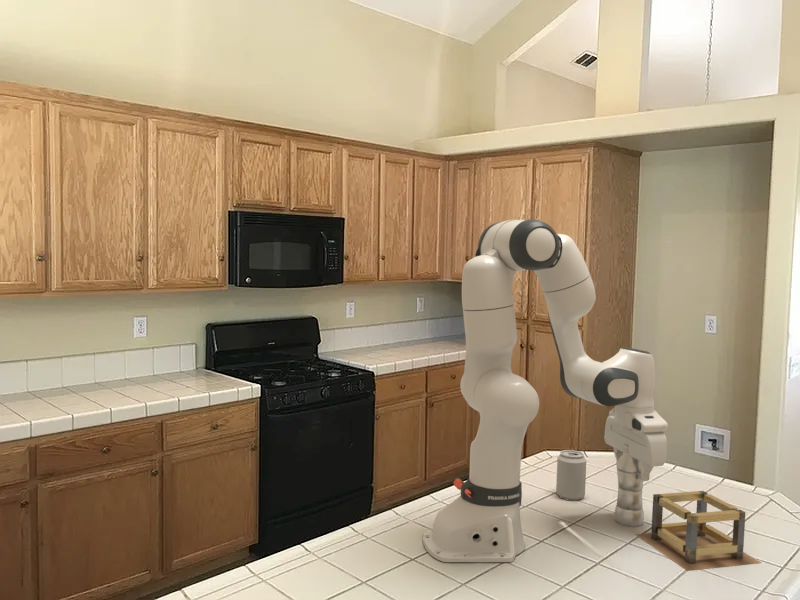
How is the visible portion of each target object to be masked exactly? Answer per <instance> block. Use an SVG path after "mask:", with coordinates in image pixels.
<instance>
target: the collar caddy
mask: <svg viewBox="0 0 800 600" xmlns="http://www.w3.org/2000/svg"><path fill="white" fill-rule="evenodd" d="M652 497H653V498H652V515H651V532H650V533H651V538H652V539H653V540H655V541H658V540H661V538H662V539H664V540H665V541H667V542H668V543H670V544H671V545H673V546H674V547H676V548H677V549H679V550H680V551H682V552H685V561H686V562H687V563H689V564H695V563H696V556H704V555H714V554H724V553H732V557H734V558H736V559H743V552H744V544H745V542H744V541H745V529H746V528H745V527H746V511H744V510H743V509H738V507H736V506H734V505H733V504H730V503H728V502H726V501H725V500H722V499H720V498H718V497H716V496H714V495H712V494H711V493H708V492H706V491H704V490H695V491H694V490H693V491H684V492H681V491H680V492H668V493H655V494H653V495H652ZM692 501H696V512H694V513H693V512H692V511H691V510H688V509H687V508H686V507H683V506H681V505H679V504H678V503H681V502H692ZM708 505H710V506H712V507H714V508H716V509H718V511H707V510H708ZM663 508H664V509H666V510H667V511H669V512H671V513H672V514H675V516H678V517H679V518H681V519H683V520H686V521H683V522H681V521H680V522H673V523H671V522H670V523H663V513H664V512H663V510H664V509H663ZM719 510H720V511H719ZM727 521H728V522H729V521H733V525H732V526H733V527H732V536H729V535H728V534H726V533H724V532H722V531H720V530H718V529H717V528H715V527H714V526H712V525H710V524H707V523H716V522H718V523H719V522H727ZM675 532H686V542H684V541H683V540H681V539H680V538H678V537H677V536H675V535H673V534H672V533H675ZM705 534H707V535H709V536H711V537H712V538H714V539H716V540H717V541H719V542H721V543H720V544H709V545H699V546H697V535H698V536H699V537H702V536H705Z"/></svg>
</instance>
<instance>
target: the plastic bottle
mask: <svg viewBox="0 0 800 600" xmlns="http://www.w3.org/2000/svg"><path fill="white" fill-rule="evenodd" d="M623 451H624V453H623V455H622V456H621V457H620V458H619V460H618V461H617V465H616V473H617V487H618V488H617V499H616V505H615V509H614V520H615V522H616V523H618V524H620V525H622V526H626V527H636V528H637V527H640V526H642V525H643V524H644V521H645V514H644V513H645V512H644V507H643V506H644V505H643V488H644V481H643V480H641V479H640V478H639V472H642V469H643V466H642V462H641V461H639V460H637V459H635V458H633V457H631V456H629V454H628V453H629V445H627V444H625V443H624V448H623Z"/></svg>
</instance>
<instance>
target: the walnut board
mask: <svg viewBox="0 0 800 600" xmlns="http://www.w3.org/2000/svg"><path fill="white" fill-rule="evenodd" d="M672 534H673V535H675V536H677V537H678V538H680V539H681V540H683V541H684V542H686V532H675V533H672ZM634 535H635V536H636V537H638V538H639V539H641V540H642V541H644V542H645V543H647V544H648V545H649V546H651V547H652V548H653V549H654V550H657V551H658V552H659V553H660V554H662V555H664V556H665V557H666V558H667V559H670V560H671V561H672V562H674V563H675V564H676V565H677V566H679V567H680V568H682V569H684V570H685V571H686V572H689V571H698V570H701V571H702V570H708V569H718V568H720V569H721V568H728V567H737V566H738V567H739V566H745V565H757V564H758V565H759V564H762V562H761V561H759V560H758V559H756V558H754V557H752V556H751V555H750V554H748V553H746V552H744V551H743V559H736V558H734V557H732V553H724V554H714V555H704V556H696V563H695V564H689V563H687V562H686V561H685V552H682V551H680V550H679V549H677V548H676V547H674V546H673V545H671V544H670V543H668V542H667V541H665V540H664V539H662V538H661V540H658V541H655V540H653V539H652V538H651V532H647V533H635V534H634ZM720 543H721V542H719V541H717V540H716V539H714V538H712V537H711V536H709V535H707V534H705V536H702V537H699V536H698V535H697V546H699V545H709V544H720Z"/></svg>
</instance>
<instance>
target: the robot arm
mask: <svg viewBox="0 0 800 600" xmlns="http://www.w3.org/2000/svg"><path fill="white" fill-rule="evenodd" d="M518 271H519V272H523V271H524V272H525V271H533V272H534V274H535V275H536V277H537V278H538V281H539V284H540V285H539V286H540V288H541V290H542V291H541V292H542V293H543V297H544V299H545V302H546V303H545V304H546V306H547V312H548V313H547V316H548V323H549V327H550V330H551V333H552V334H551V335H552V338H553V342H554V345H555V348H556V353H557V355H558V359H559V377H560V378H559V381H560V384H561V387H562V389H563V390H564V392H565V393H566V394H567V395H569V396H570V397H572V398H576V399H580V400H584V401H587V402H590V403H593V404H597V405H598V406H599V405H600V406H603V407H613V408H611V409H610V410H609V412H608V416H607V418H606V420H605V421H606V422H605V427H604V436H603V437H604V442H605V444H607V446H608V445H609V446H610V447H611V448H612V447H613V454H614V457H615V460H616V462H615V464H616V466H617V461H618V460H619V458H620V457H621V456H622V455H623V454H624V451H623V448H624V443H625V444H627V445H629V453H628V454H629V456H631V457H633V458H635V459H637V460H639V461H641V462H642V466H643V469H642V472H639V478H640V479H641V480H643V482H648V481H650V478H651V477H650V475H651V472H652V471H653V468H654V467H662V466H664V465H665V463H666V461H667V456H668V455H667V454H668V439H667V436H666V433H665V432H668V429H669V425H668V422H667V421H666V420H665V419H664V418H663V417H662V416H661V415H660V414H659V413H658V412H657V410H655V399H654V392H655V389H656V364H655V359H654V356H653V354H652V353H650V352H649V351H647V350H642V349H637V348H633V347H620V349H619V350H618V352H617V353H616V354H615V355H614V356H612V357H610V358H609V359H607V360H604V361H602V362H600V361H598V360H594V359H592V358H591V357H590V356H589V355H588V354H587V353H586V351H585V349H584V345H583V341H582V336H581V334H580V329H579V320H580V319H581V318H583V317H585V316H586V315H587V314H588V313H589V312H590V311H591V310H592V308H593V307H594V305H595V303H596V300H597V296H596V288H595V284H594V281H593V279H592V278H593V277H592V276H591V272H590V270H589V268H588V266H587V263H586V261H585V259H584V256H583V255H582V253H581V250H580V249H579V247H578V245H577V244H576V242H575V240H574V239H573V238H572V237H571V236H569V235H567V234H563V233H557V232H556V230H555V229H554V228H553V227H552V226H551V225H550V224H548V223H546V222H544V221H542V220H538V219H533V218H530V219H519V218H518V219H517V218H515V219H514V218H513V219H508V220H504V221H498V222H497V221H496V222H494V223H492V224H491V225H488V227H486V228H485V229H484V230H483V232H482V233H481V234H480V237H479V239H478V244H477V249H476V252H475V255H474V257H473V258H471V259H469V260H468V261H467V262H465V264H464V266H463V269H462V277H461V306H462V317H463V325H464V334H465V335H464V336H465V358H464V359H465V360H464V367H463V368H464V369H463V371H464V372H463V374H462V377H461V380H460V385H459V386H460V392H461V395H462V397H463V399H464V400H465V401H466V404H468V406H469V407H471V408H472V409H473V410H474V411H476V412H478V413H479V424H478V427H477V428H478V429H477V433H476V436H475V438H474V439H473V440H472V441H471V443H470V449H469V477H468V478H467V480H465V482H464V481H463V480H462V479H461V478H458V477H457V478H455V479H454V481H453V486H454V487H455V488H456V489H457V490H460V496H458V497H457V498H456V499H453V501H452V502H450V503H449V504H448V505H446V506H445V507H443V508H442V509H441V510H440V511H438V512H437V514H436V515H435V518H434V522H433V528H432V530H429V531H424V533H423V535H422V545H423V547H424V548H425V550H426V552H427V553H428V554H429V555H430V556H431V557H433V558H434V559H435V560H438V561H441V562H442V563H511V562H514V560H515V558H516V556H517V555H519V554H521V553H522V552H523V551H524V550H525V549H526V544H525V539H524V534H523V529H522V523H521V522H522V521H521V505H522V499H523V498H522V497H523V495H522V494H523V491H522V487H523V485H522V482H521V466H522V465H521V464H522V463H521V462H522V449H523V443H524V439H525V436H526V433H527V429H528V427H529V425H530V423H531V422H532V421H534V419H535V418H536V416H537V415H538V412H539V408H540V398H539V394H538V393H537V391H536V389H535V388H534V387H533V386H532V385H531V383H529V381H527V380H526V379H525V377H524V378H523V377H522V376H520V375H518V374H515V373H513V371H512V365H511V364H512V357H513V349H514V348H515V346H516V344H517V342H518V330H517V319H516V309H515V301H514V294H513V282H514V278H515V275H516V273H517V272H518Z"/></svg>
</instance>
